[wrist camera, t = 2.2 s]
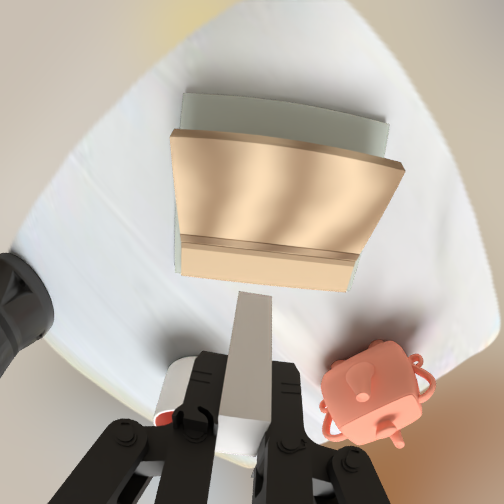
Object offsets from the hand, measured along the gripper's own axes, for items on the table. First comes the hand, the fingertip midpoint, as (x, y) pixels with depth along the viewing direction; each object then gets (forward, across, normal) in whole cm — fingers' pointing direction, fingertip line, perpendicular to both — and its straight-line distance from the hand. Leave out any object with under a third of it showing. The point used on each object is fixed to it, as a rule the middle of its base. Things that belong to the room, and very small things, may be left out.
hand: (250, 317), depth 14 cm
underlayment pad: (+18, +1, +1) cm, 18 cm away
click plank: (+14, +2, +2) cm, 14 cm away
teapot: (+19, +20, -22) cm, 35 cm away
